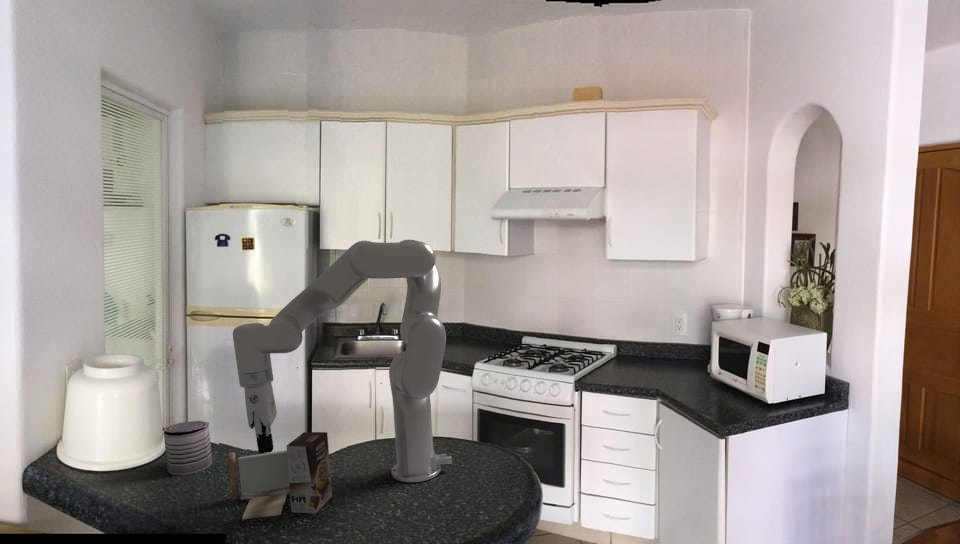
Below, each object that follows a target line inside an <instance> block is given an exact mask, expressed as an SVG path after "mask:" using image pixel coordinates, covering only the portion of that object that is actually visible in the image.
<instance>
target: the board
mask: <svg viewBox="0 0 960 544" xmlns="http://www.w3.org/2000/svg"><path fill="white" fill-rule="evenodd" d="M287 497H288V494H279V495H271V496H262V497H253V498H250V499H248V504H247V505H246V508H245V510H244V512H243V515H242V517H241V519H242V521H243V520H250V519H258V518H266V517H275V516H281V515H282V512H283V509H284V507H283V506H285V503H286V499H287Z"/></svg>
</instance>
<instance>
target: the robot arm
mask: <svg viewBox="0 0 960 544" xmlns="http://www.w3.org/2000/svg"><path fill="white" fill-rule="evenodd" d="M440 275H441V274H440V273H439V269H438V266H437V264H436V254H435V251H434V250H433V248H432V247H431V246H430V245H429V244H428V243H426V242H423V241H419V240H414V239H403V240H402V241H401V240H400V241H398V242H377V241H375V242H374V241H369V240H359V241H357V242H355V243H354V244H353V245H351V246H350V247H349V248H347V250H346V251H344V252H343V254H341V255H340V256H339V257H338V258H337V259H336V260H335V261H334V262H333V263H332V264H331V265H330V266H329V267H328V268H327V269H326V270H324V272H322V273H321V275H319V276H318V277H317V278H316V279H315V280H314V281H313V282H311V283H310V284H309V285H308V286H307V287H306V288H304V289H303V290H302V291H300V292H299V293H298V294H297V295H296V296H295V297H294V298H292V299H291V300H290V301H289V302H288V303H287V304H286V305H285V306H284V307H283V308H282V309H281V310H280V311H279V312H278V313H277V314H276V315H275V316H274V317H273V318H272V319H271V321H270V322H269V324H267V325H265V324H263V323H259V322H253V323H252V322H251V323H245V324H241V325H238V326H236V327H235V328H234V329H233V331H232V340H233V341H232V342H233V346H234V347H233V348H234V354H235V360H236V361H235V362H236V366H237V375H238V382H239V387H241V388H244V389H243V390H244V400H245V408H246V416H247V423H248V427H249V429H252V430H253V429H254V432H255V437H256V444H257V451H258V453H259V454H264V453H271V452H274V442H273V441H274V440H273V434H272V428H271V427H272V425H273V423H274V421H275V419H276V417H277V413H278V412H277V406H276V401H275V394H274V390H273V385H272V382H274V373H273V366H272V357H271V354H288V353H292V352H294V351H296V350H297V349H298V348H300V346H301V345H302V341H303V335H304V334H303V331H304V330H305V329H306V328H308V327H309V326H310V325H311V324H312V323H313V322H314V321H315V320H316V319H318V318H319V317H320V316H322V315H323V314H325V313H327V312H329V311H331V310H335V309H336V308H337V309H338V308H339V307H340V306H341V305H344V303H345V302H346V301H347V300H348V299H349V298H350V297H351V296H352V295H353V294H354V293H355V292H356V291H357V290H358V289H359V288H360V287H362V285H363V284H365V283H366V282H367V280H369V279H373V280H374V279H379V280H380V279H382V280H384V279H385V280H386V279H387V280H388V279H389V280H390V279H405V280H406V285H407V286H406V287H407V289H406V298H405V302H404V309H403V313H402V318H401V322H400V328H399V334H400V335H399V336H400V338H401V340H402V341H403V342H404V344H406V347H405V351H402V352H400V353H398V354H396V355H395V356H394V357H393V359H392V361H391V363H390V364H389V368H388V369H389V370H388V376H389V384H390V389H391V397H392V398H391V399H392V407H393V423H394V424H393V425H394V426H393V427H394V439H395V455H396V464H395V465H394V466H393V467H392V468H391V476H392V478H394V479H395V480H396V481H400V482H403V483H420V482H424V481H428V480H431V479H433V478H435V477H437V476H438V475H439V474H440V472H441V470H442V468H441V465H449V464H453V457H452V455H447V453H441V454H437V453H436V452H435V449H434V439H433V437H434V436H433V424H432V423H433V421H432V404H431V395H432V394H433V393H434V391H435V390H436V389H437V386H438V385H439V381H440V377H441V376H440V375H441V371H442V367H443V361H444V357H445V351H446V350H445V349H446V346H447V332H446V328H445V326H444V324H443V322H442V321H441V320H440V319H439V318H438V314H439V308H440V301H441V300H440V299H441V294H442V293H441V292H442V282H441V281H442V279H441V276H440Z"/></svg>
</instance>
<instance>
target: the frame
mask: <svg viewBox="0 0 960 544" xmlns="http://www.w3.org/2000/svg"><path fill="white" fill-rule="evenodd" d="M227 458H228V459H227V460H228V467H229V478H230V488H231V498H232V501H237V500H250V498H253V497H262V496H271V495H279V494H287V495H290V488H287V489H286V488H284V489H275V490H267V491H261V492H255V493H249V494H242V493H241V496H240V491H239V489H240V488H239V481H238V480H239V479H238V470H237V462H236V453H235V452H234V451H232V452H229V453H227Z"/></svg>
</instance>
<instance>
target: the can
mask: <svg viewBox="0 0 960 544" xmlns="http://www.w3.org/2000/svg"><path fill="white" fill-rule="evenodd" d="M209 424H210V422H207V421H201V420H195V421H182V422H177V423H175V424H170V425H166V426H165V427H164V428H163V429H162V430H161V431H162V432H163V439H164V448H165V455H166V456H165V457H166V466H167V472H168V473H170V475H172V476H173V475H174V476H186V475H191V474H195V473H200V472H201V471H204V470H205V469H208V468H210V466H211V465H212V463H213V456H212V454H213V453H212V445H211V436H210V426H209Z"/></svg>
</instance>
